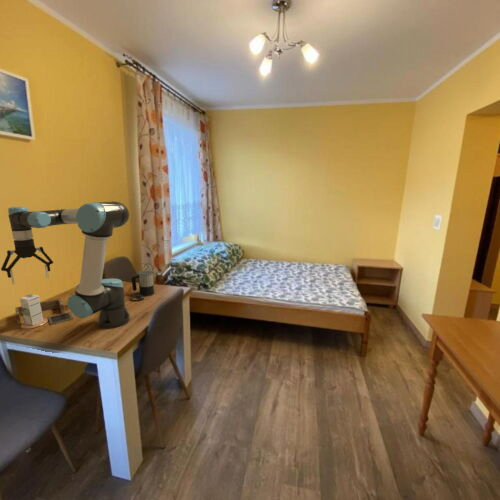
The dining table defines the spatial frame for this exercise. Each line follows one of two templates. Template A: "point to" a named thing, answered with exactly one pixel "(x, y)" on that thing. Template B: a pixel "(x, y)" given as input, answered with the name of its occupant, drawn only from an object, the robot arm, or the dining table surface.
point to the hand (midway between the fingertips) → (31, 280)
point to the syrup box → (31, 309)
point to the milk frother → (143, 284)
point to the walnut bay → (42, 307)
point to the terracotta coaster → (25, 326)
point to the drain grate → (60, 318)
